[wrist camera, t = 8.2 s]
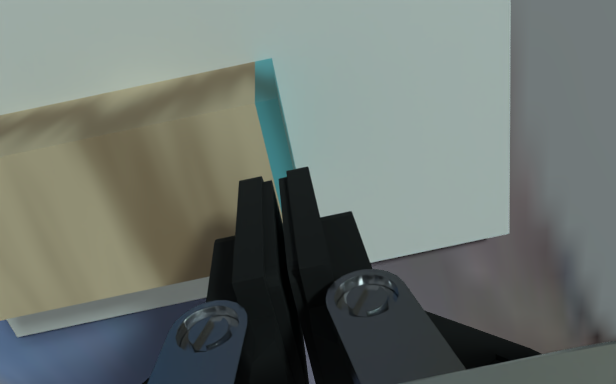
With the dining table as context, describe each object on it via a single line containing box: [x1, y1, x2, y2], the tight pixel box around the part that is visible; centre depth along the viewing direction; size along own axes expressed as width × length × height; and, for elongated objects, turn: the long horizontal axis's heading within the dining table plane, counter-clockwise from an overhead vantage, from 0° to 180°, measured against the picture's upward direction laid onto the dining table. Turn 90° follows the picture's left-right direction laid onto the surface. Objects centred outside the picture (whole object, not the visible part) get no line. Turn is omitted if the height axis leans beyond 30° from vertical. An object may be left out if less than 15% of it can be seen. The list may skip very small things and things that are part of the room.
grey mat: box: [0, 0, 511, 337], centre depth 19 cm, size 22×14×1 cm, turn 101°
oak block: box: [0, 58, 296, 321], centre depth 16 cm, size 5×5×10 cm
